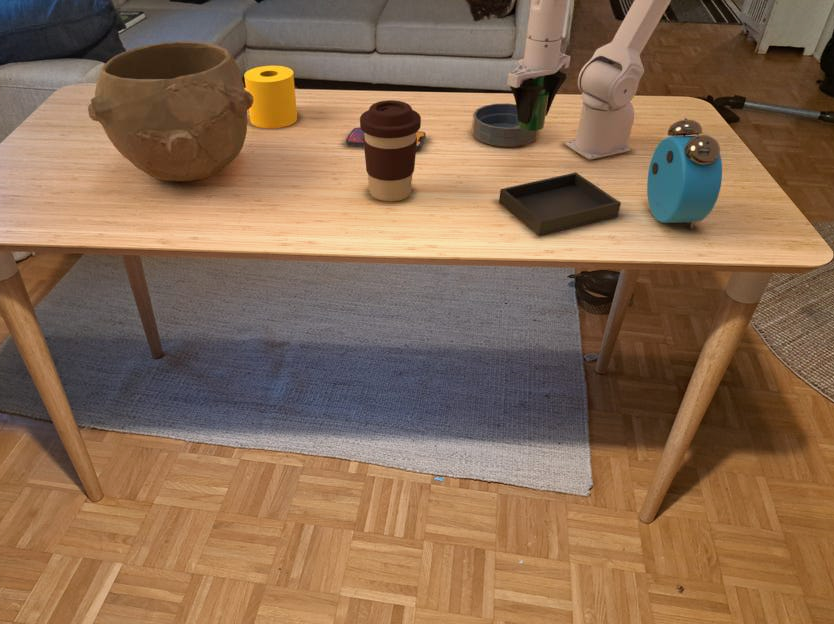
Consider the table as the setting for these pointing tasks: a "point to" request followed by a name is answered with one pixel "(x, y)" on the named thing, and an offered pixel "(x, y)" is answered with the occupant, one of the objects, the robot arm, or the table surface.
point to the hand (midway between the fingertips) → (532, 118)
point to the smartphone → (358, 136)
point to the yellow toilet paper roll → (271, 96)
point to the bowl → (173, 108)
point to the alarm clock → (684, 175)
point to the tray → (558, 203)
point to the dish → (500, 126)
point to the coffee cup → (390, 148)
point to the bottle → (538, 108)
